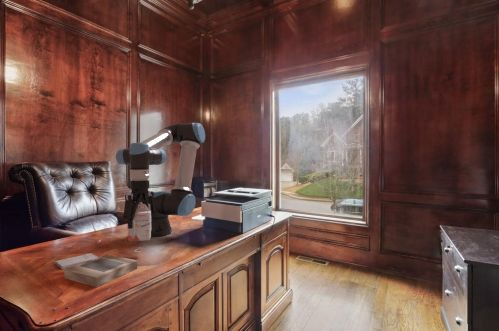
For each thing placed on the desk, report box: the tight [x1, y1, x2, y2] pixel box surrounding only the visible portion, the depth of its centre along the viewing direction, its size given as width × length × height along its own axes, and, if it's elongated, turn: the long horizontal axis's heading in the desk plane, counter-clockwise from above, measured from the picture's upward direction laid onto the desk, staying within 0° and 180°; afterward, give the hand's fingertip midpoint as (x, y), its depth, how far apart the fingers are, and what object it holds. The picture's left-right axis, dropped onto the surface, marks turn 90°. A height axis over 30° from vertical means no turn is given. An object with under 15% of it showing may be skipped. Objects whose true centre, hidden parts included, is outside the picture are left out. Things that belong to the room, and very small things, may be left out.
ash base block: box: [63, 254, 138, 288], centre depth 93 cm, size 16×16×3 cm
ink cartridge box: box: [127, 203, 151, 242], centre depth 112 cm, size 9×5×15 cm, turn 105°
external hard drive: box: [54, 252, 98, 270], centre depth 104 cm, size 2×8×12 cm
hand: (140, 233), depth 112 cm, fingers closed on ink cartridge box, 8 cm apart
